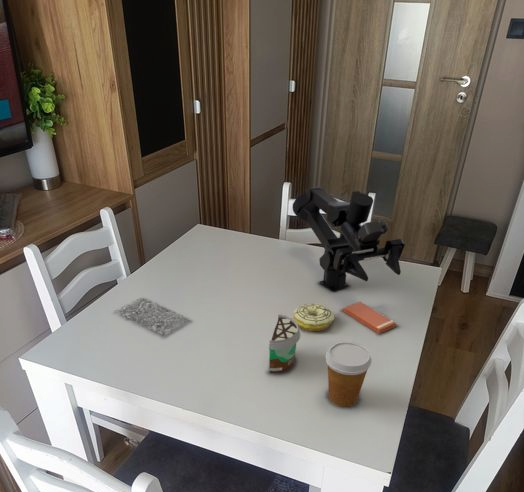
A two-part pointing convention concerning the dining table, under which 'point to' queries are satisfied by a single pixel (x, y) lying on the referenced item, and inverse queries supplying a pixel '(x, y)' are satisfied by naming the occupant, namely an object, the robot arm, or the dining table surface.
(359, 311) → the orange flat bar
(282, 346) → the food container
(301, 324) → the decorated donut
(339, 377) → the disposable coffee cup
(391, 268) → the robot arm
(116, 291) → the dining table surface
